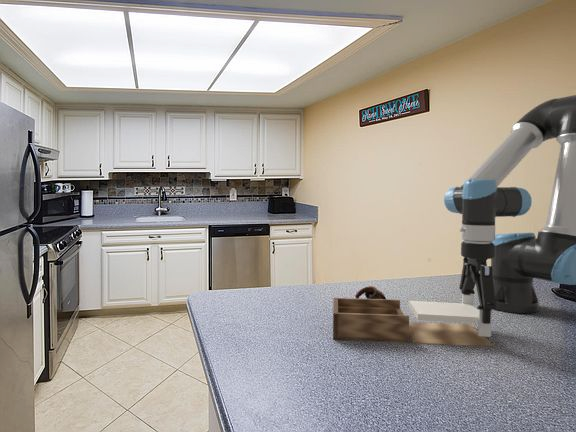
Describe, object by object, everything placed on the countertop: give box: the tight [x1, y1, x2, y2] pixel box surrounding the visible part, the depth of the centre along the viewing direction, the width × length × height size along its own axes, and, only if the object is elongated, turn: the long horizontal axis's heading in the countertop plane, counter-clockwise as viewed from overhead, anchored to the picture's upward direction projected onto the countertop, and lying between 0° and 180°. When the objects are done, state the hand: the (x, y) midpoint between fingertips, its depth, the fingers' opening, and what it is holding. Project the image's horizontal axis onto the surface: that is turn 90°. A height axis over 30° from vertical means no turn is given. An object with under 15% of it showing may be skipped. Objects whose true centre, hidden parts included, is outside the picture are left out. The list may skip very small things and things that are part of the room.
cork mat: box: [409, 321, 493, 347], centre depth 105 cm, size 18×15×1 cm
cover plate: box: [408, 300, 478, 325], centre depth 104 cm, size 16×12×2 cm
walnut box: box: [332, 297, 410, 344], centre depth 107 cm, size 18×15×6 cm
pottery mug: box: [354, 286, 387, 299], centre depth 126 cm, size 12×10×8 cm
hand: (475, 327), depth 104 cm, fingers closed on cover plate, 12 cm apart
